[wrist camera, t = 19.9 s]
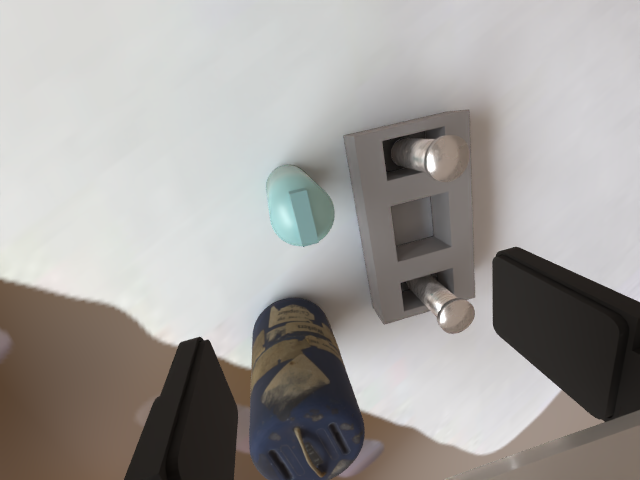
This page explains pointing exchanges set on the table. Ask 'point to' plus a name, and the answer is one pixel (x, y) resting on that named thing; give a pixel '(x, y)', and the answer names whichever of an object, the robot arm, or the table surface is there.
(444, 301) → the plunger
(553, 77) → the table surface
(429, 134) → the housing
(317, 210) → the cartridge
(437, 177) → the plunger
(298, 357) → the canister
